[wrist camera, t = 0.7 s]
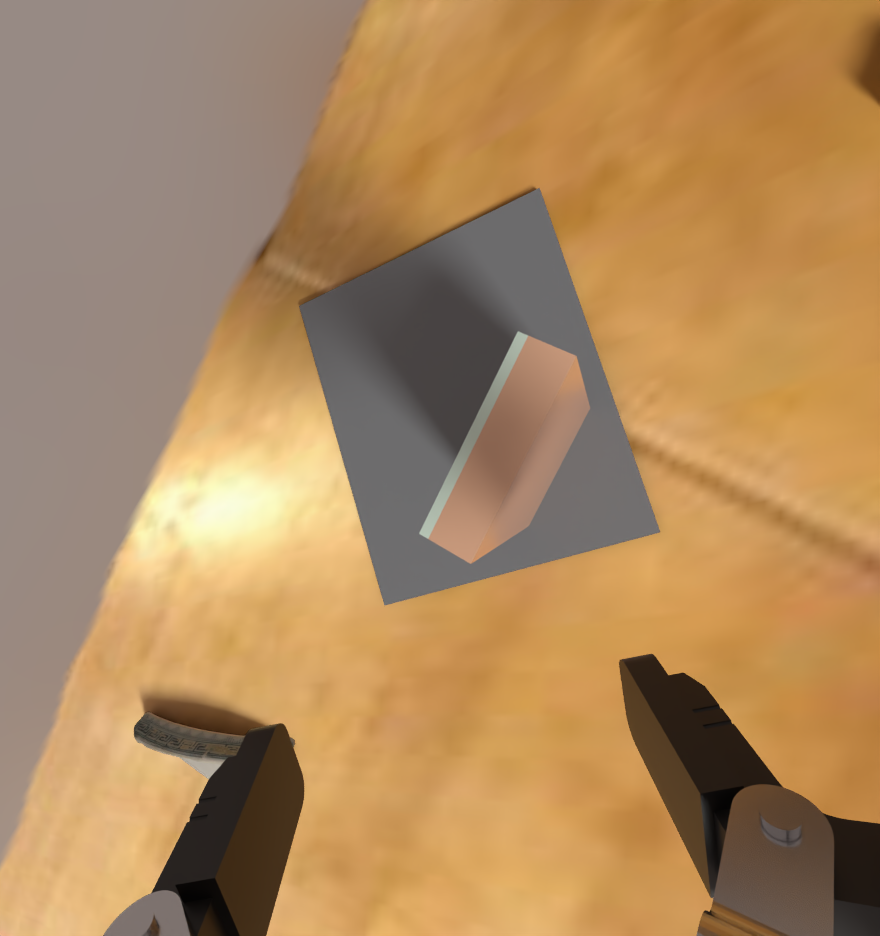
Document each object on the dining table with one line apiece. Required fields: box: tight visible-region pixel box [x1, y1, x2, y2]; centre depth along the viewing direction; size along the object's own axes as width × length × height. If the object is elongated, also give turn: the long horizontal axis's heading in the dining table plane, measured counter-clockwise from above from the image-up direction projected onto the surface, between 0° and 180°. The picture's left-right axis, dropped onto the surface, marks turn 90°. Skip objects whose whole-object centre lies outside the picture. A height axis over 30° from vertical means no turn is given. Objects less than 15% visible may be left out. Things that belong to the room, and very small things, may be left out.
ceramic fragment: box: [134, 712, 295, 779], centre depth 38 cm, size 14×5×4 cm, turn 88°
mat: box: [299, 188, 660, 605], centre depth 33 cm, size 22×18×1 cm
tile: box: [419, 331, 590, 564], centre depth 24 cm, size 2×8×14 cm, turn 153°
